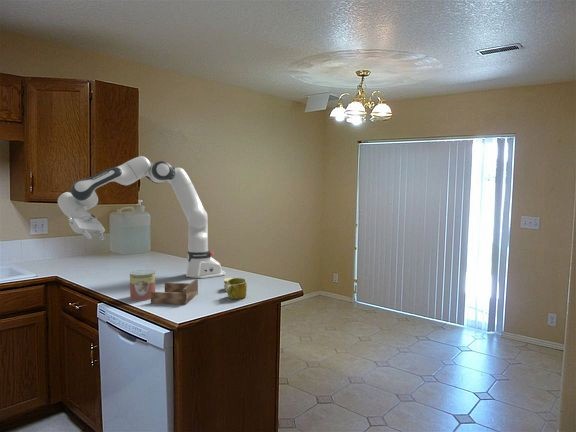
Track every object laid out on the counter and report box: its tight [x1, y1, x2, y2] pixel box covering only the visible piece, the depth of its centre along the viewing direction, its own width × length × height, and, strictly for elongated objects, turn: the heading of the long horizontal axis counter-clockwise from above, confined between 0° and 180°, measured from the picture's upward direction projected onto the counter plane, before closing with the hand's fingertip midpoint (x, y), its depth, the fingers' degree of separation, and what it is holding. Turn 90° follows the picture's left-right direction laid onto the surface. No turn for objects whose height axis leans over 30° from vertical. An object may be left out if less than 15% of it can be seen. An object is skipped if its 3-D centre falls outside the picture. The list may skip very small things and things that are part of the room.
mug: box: [225, 277, 248, 300], centre depth 204 cm, size 12×10×10 cm
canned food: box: [129, 269, 156, 302], centre depth 203 cm, size 11×11×12 cm
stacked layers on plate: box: [223, 277, 233, 290], centre depth 219 cm, size 10×9×6 cm
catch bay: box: [150, 278, 199, 305], centre depth 202 cm, size 16×18×7 cm
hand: (97, 238), depth 214 cm, fingers open, 8 cm apart
